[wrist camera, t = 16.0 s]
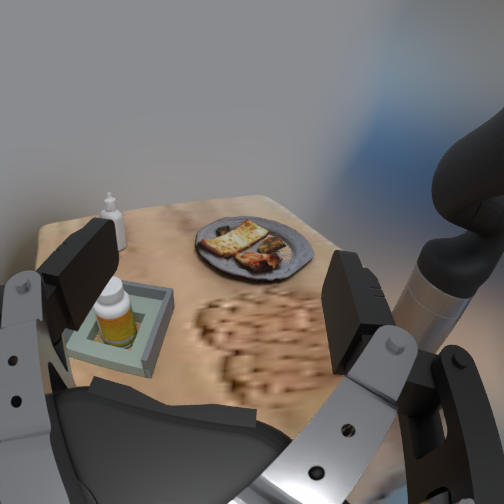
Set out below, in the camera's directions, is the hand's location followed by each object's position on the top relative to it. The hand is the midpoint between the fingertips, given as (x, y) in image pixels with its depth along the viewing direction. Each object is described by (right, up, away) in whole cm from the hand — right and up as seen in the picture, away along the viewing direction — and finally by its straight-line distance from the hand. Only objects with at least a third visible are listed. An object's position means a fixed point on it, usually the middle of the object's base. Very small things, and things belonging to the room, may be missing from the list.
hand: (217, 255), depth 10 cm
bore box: (-18, -12, +29) cm, 36 cm away
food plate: (+1, 0, +53) cm, 53 cm away
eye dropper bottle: (-28, +1, +48) cm, 55 cm away
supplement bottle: (-18, -12, +29) cm, 36 cm away
